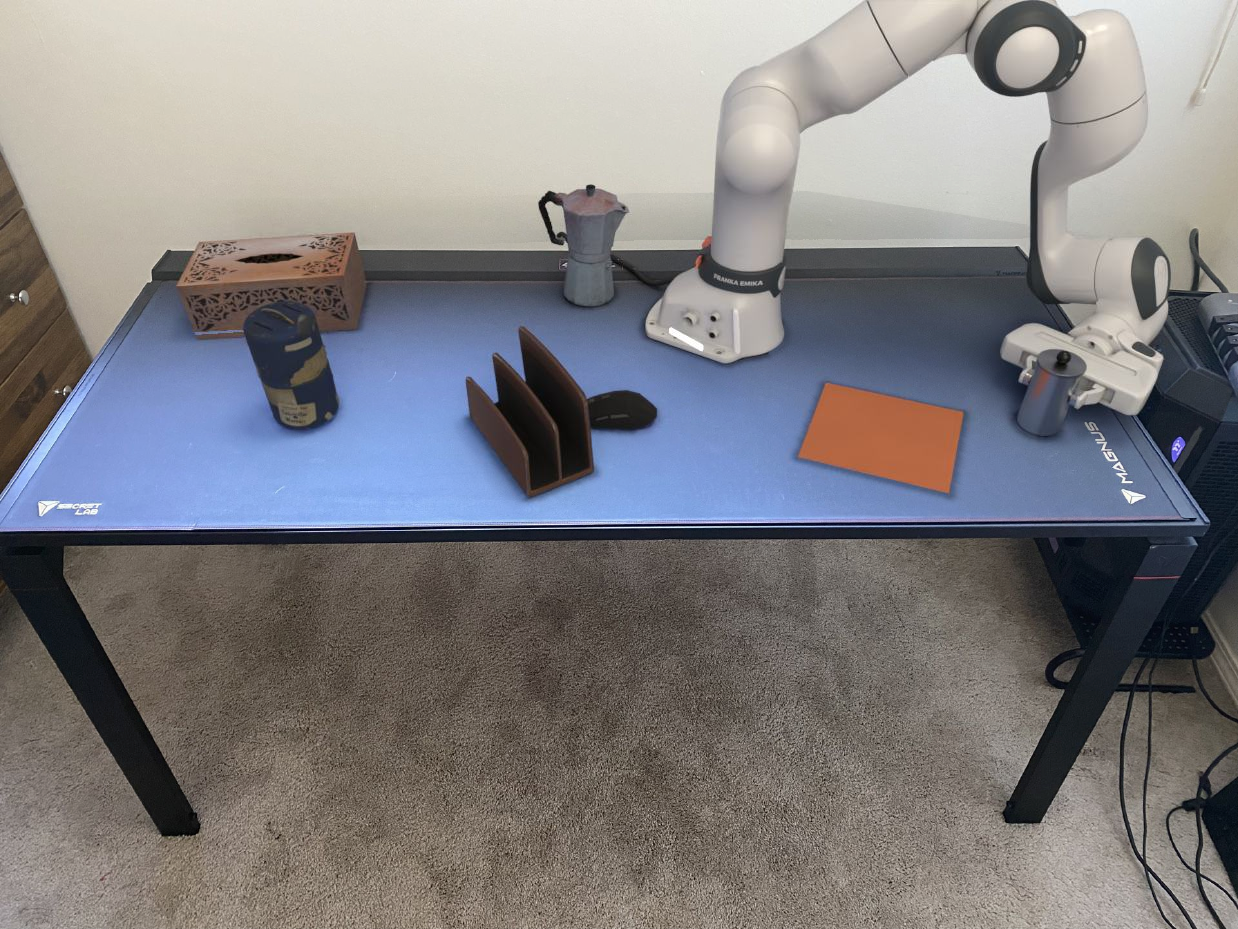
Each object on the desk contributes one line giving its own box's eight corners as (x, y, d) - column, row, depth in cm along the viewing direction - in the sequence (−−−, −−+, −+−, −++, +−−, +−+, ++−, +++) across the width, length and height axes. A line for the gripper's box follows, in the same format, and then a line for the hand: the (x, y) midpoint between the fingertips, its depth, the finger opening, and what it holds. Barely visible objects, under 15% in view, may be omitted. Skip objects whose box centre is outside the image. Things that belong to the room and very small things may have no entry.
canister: (320, 386, 136) (289, 283, 124) (354, 414, 131) (325, 308, 119) (263, 415, 131) (225, 309, 119) (295, 444, 126) (259, 337, 114)
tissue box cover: (366, 284, 158) (354, 232, 151) (357, 329, 147) (343, 275, 141) (218, 293, 156) (199, 241, 150) (197, 339, 146) (176, 286, 139)
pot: (1013, 431, 125) (1039, 359, 117) (1016, 405, 129) (1042, 334, 121) (1061, 441, 123) (1091, 369, 115) (1062, 414, 127) (1091, 343, 119)
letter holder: (531, 396, 133) (522, 316, 124) (595, 473, 120) (591, 390, 111) (469, 418, 130) (456, 337, 120) (528, 500, 117) (519, 416, 107)
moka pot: (625, 313, 150) (623, 201, 136) (536, 304, 152) (526, 194, 139) (635, 284, 157) (635, 175, 143) (550, 276, 159) (542, 168, 146)
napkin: (797, 458, 122) (797, 456, 122) (825, 384, 134) (825, 382, 134) (948, 495, 116) (949, 492, 116) (963, 414, 129) (963, 411, 128)
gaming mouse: (556, 403, 132) (555, 381, 129) (657, 404, 131) (657, 382, 129) (553, 430, 127) (551, 408, 125) (656, 432, 127) (657, 410, 124)
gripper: (1034, 303, 132) (985, 341, 125) (1176, 361, 121) (1131, 405, 114) (1022, 339, 136) (974, 377, 129) (1158, 398, 125) (1113, 443, 118)
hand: (1048, 391), depth 122 cm, fingers closed on pot, 6 cm apart
